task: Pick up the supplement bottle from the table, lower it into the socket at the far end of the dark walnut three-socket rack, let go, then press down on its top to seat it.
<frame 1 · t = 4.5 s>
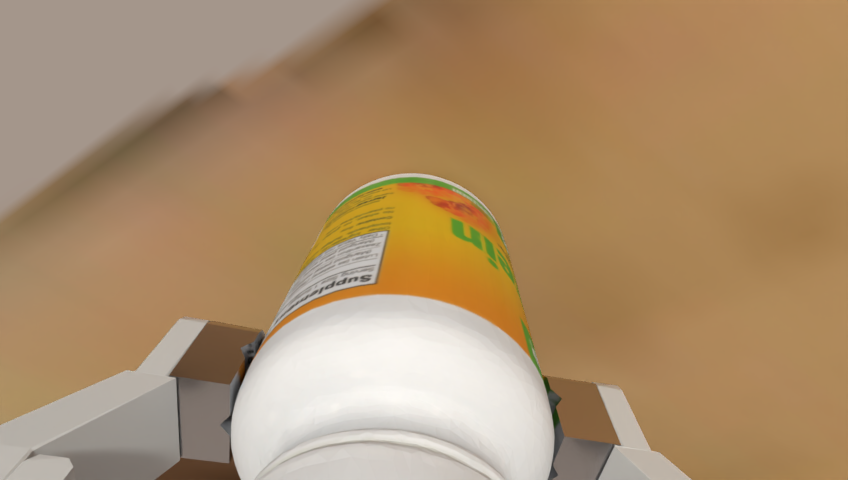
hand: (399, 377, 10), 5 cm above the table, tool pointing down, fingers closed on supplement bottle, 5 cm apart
supplement bottle: (413, 254, 15), on the table, touching gripper
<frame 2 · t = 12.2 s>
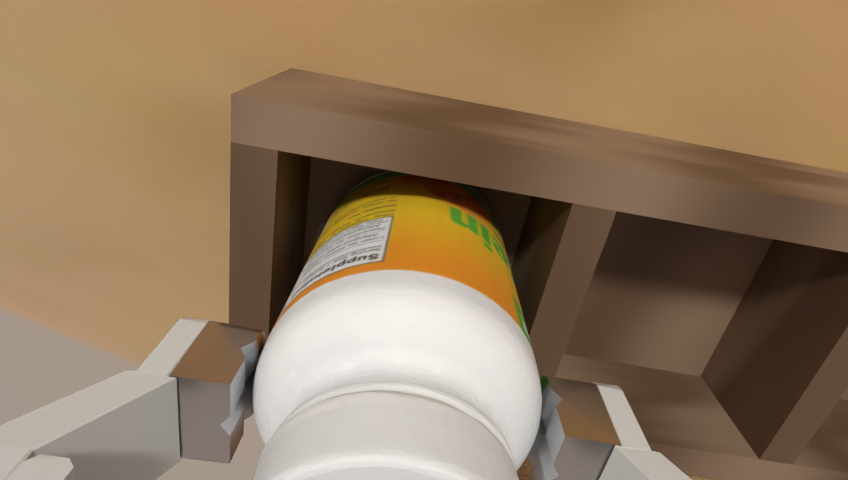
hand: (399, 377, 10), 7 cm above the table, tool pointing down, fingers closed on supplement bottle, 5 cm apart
socket rack: (633, 265, 17), on the table
supplement bottle: (414, 243, 16), point 1 cm above the table, touching gripper, socket rack
when the fingers open (7 cm above the table, at t = 12.8 s): supplement bottle stays where it is, resting on socket rack.
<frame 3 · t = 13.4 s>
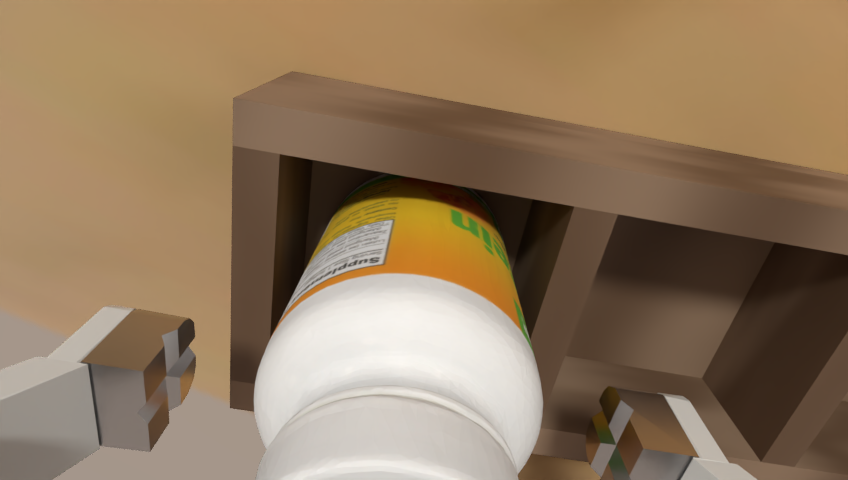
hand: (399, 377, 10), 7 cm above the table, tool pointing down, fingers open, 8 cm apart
socket rack: (634, 268, 17), on the table
supplement bottle: (415, 245, 16), point 1 cm above the table, touching socket rack
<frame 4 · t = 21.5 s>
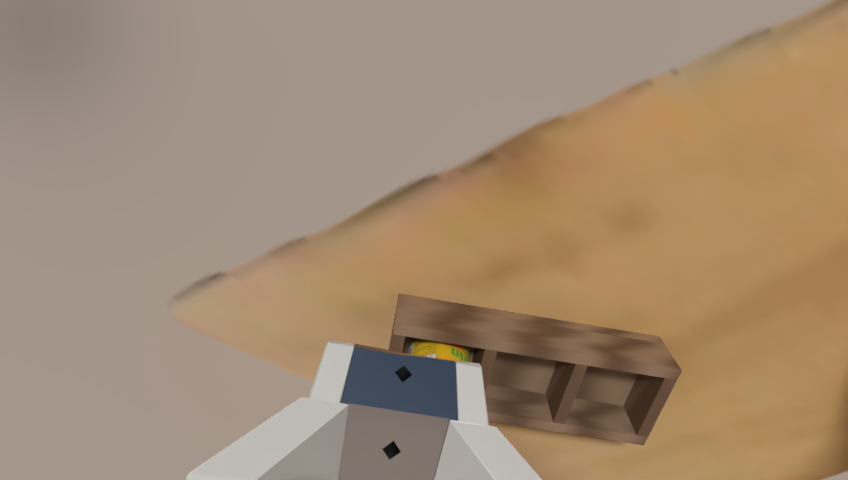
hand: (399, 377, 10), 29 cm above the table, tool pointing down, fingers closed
socket rack: (518, 353, 45), on the table
supplement bottle: (438, 347, 44), point 1 cm above the table, touching socket rack
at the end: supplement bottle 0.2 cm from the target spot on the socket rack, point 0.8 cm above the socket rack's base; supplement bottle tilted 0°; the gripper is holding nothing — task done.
